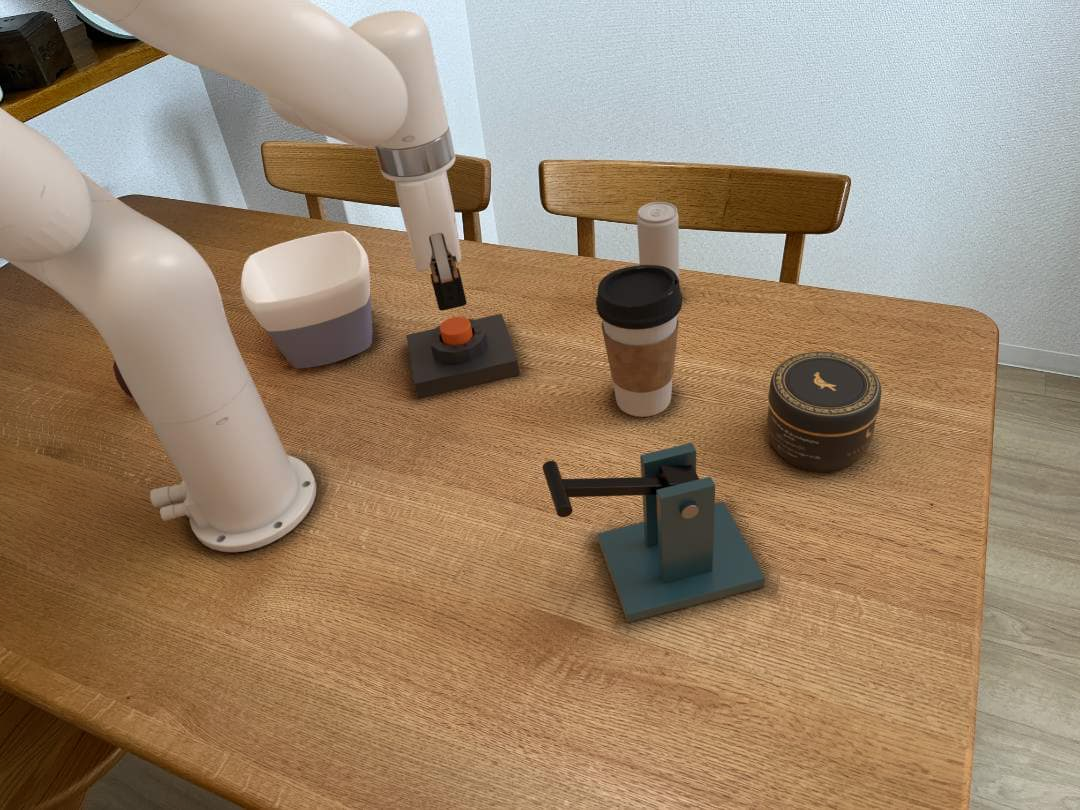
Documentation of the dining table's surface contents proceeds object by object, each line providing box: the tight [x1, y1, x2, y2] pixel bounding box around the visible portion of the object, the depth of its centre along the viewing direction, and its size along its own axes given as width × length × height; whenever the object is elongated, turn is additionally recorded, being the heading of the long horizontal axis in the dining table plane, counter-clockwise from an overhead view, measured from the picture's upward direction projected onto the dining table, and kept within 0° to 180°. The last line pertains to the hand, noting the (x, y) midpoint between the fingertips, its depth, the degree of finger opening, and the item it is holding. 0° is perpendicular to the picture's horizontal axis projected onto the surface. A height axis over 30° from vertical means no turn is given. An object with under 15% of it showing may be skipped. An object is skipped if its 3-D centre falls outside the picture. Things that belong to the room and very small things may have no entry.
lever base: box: [597, 442, 766, 624], centre depth 67 cm, size 12×9×12 cm
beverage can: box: [636, 201, 680, 280], centre depth 98 cm, size 5×5×12 cm
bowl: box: [240, 230, 374, 369], centre depth 100 cm, size 15×15×11 cm
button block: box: [406, 313, 521, 399], centre depth 95 cm, size 12×10×4 cm
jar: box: [766, 351, 882, 472], centre depth 77 cm, size 10×10×8 cm
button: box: [439, 316, 473, 346], centre depth 94 cm, size 4×4×2 cm
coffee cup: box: [595, 264, 683, 418], centre depth 83 cm, size 8×8×15 cm
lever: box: [541, 460, 700, 518], centre depth 63 cm, size 12×5×2 cm, turn 103°
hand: (452, 304), depth 92 cm, fingers closed
